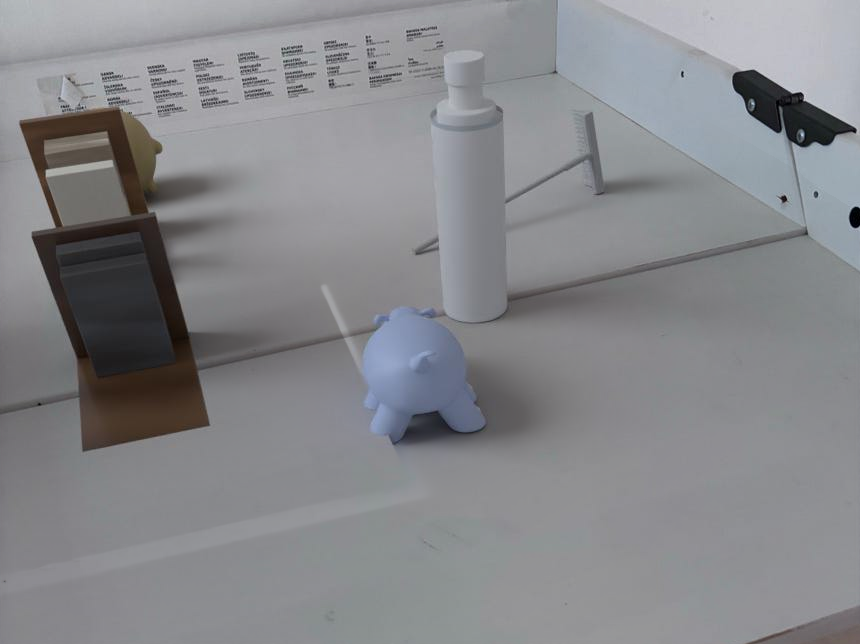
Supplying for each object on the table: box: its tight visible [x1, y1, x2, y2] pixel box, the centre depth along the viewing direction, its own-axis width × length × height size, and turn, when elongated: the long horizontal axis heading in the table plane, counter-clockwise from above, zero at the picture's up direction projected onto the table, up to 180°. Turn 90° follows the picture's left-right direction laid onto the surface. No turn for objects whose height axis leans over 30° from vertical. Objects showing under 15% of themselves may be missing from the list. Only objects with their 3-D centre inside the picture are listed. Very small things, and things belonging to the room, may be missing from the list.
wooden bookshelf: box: [18, 106, 150, 228], centre depth 109 cm, size 18×11×13 cm, turn 18°
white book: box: [46, 160, 129, 227], centre depth 107 cm, size 2×7×10 cm, turn 108°
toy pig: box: [91, 106, 164, 194], centre depth 123 cm, size 10×12×11 cm
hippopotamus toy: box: [362, 305, 487, 444], centre depth 85 cm, size 11×15×10 cm
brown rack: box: [31, 211, 211, 453], centre depth 87 cm, size 18×11×13 cm, turn 18°
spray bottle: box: [429, 49, 508, 324], centre depth 93 cm, size 7×7×25 cm
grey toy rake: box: [412, 107, 606, 255], centre depth 115 cm, size 4×28×9 cm, turn 124°
